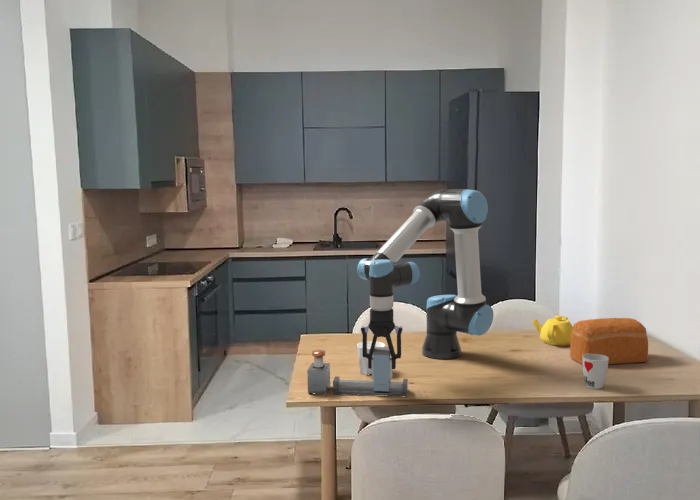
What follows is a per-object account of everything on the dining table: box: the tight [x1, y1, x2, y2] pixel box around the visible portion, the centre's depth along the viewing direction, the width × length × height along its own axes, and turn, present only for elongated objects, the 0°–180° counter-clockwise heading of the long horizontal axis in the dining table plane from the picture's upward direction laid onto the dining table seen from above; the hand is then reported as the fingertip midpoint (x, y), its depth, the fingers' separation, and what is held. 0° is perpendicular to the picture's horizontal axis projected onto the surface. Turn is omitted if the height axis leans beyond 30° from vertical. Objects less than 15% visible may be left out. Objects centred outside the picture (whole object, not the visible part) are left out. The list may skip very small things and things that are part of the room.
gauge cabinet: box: [307, 362, 331, 395], centre depth 213 cm, size 6×8×8 cm
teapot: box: [531, 315, 573, 347], centre depth 268 cm, size 20×18×11 cm
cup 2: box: [582, 354, 609, 390], centre depth 213 cm, size 8×8×10 cm
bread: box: [569, 317, 649, 365], centre depth 242 cm, size 14×26×16 cm, turn 99°
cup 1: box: [356, 340, 386, 376], centre depth 231 cm, size 10×10×10 cm
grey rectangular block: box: [372, 346, 391, 391], centre depth 209 cm, size 5×6×13 cm
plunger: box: [311, 349, 326, 368], centre depth 212 cm, size 4×4×9 cm
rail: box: [331, 376, 409, 398], centre depth 211 cm, size 24×7×4 cm, turn 82°
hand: (382, 378), depth 210 cm, fingers closed on grey rectangular block, 5 cm apart
